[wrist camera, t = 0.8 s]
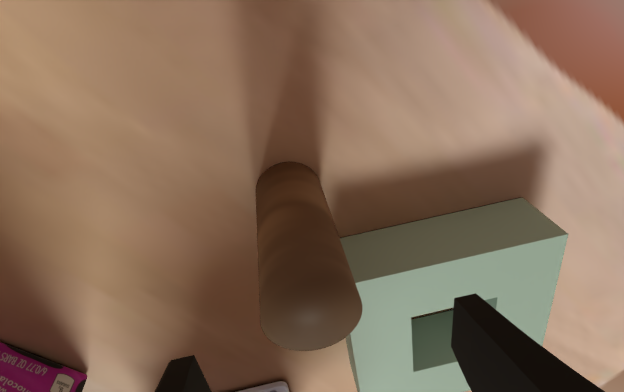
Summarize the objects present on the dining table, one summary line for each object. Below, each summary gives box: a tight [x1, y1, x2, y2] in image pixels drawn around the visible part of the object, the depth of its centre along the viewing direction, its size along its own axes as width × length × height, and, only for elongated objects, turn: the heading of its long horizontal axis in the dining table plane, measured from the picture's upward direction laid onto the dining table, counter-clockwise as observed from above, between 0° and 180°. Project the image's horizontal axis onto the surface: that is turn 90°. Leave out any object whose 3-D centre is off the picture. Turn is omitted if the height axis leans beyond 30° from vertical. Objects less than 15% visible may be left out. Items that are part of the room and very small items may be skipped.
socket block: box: [340, 198, 568, 392], centre depth 22 cm, size 11×11×4 cm
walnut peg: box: [256, 162, 362, 351], centre depth 15 cm, size 3×3×8 cm
